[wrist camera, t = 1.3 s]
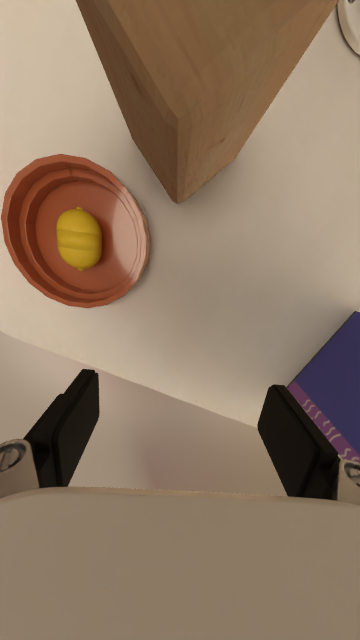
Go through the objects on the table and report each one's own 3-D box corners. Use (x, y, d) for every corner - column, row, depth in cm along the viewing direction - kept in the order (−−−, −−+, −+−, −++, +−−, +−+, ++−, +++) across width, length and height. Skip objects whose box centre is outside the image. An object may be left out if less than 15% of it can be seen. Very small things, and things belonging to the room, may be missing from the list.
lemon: (68, 207, 27) (44, 198, 23) (107, 213, 28) (92, 206, 23) (70, 266, 30) (50, 270, 25) (106, 271, 30) (93, 275, 25)
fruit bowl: (20, 159, 26) (-11, 141, 22) (155, 181, 27) (151, 169, 23) (34, 292, 32) (12, 298, 28) (145, 306, 33) (140, 314, 29)
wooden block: (176, 208, 28) (176, 130, 9) (129, 134, 25) (-8, -186, 7) (238, 156, 26) (395, -70, 7) (194, 71, 24) (267, -633, 5)
